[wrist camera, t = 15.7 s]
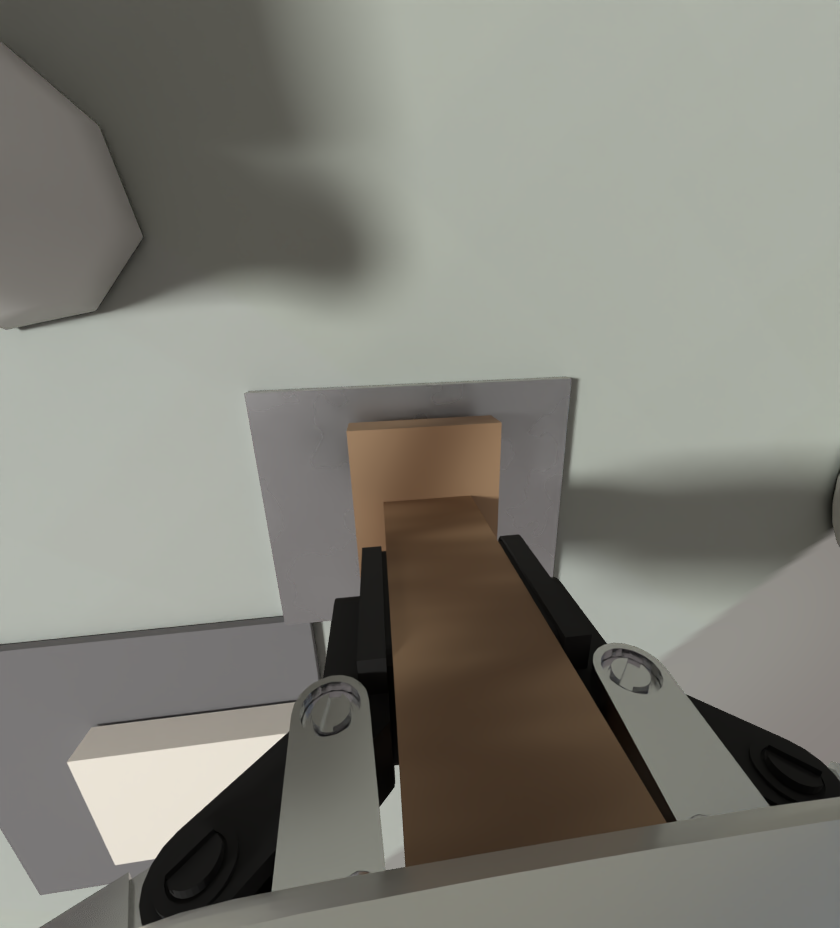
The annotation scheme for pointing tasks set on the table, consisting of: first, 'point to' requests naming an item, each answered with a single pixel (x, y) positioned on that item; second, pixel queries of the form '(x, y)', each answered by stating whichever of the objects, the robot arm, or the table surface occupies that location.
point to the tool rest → (329, 481)
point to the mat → (120, 721)
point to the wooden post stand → (477, 658)
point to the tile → (167, 771)
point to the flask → (55, 203)
